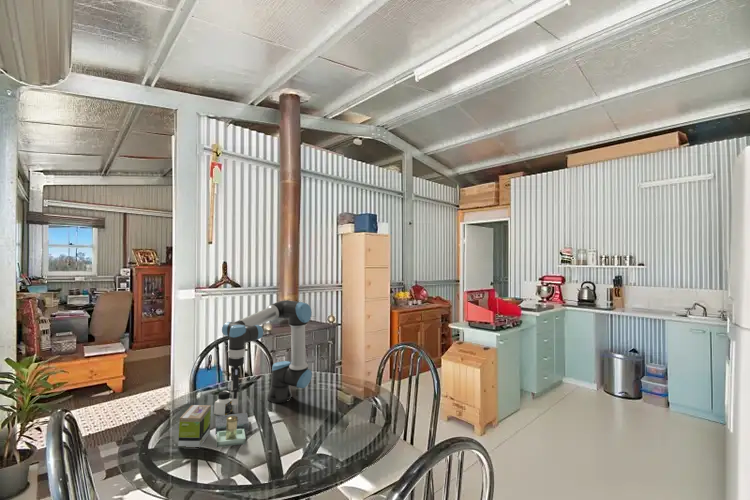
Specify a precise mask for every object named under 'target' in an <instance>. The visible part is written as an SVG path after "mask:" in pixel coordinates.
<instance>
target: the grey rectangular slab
mask: <svg viewBox="0 0 750 500" xmlns="http://www.w3.org/2000/svg"><path fill="white" fill-rule="evenodd" d="M229 416H237V417H238V420H237V429H243V428H244V431H245V432H249V427H250V422H249V421H250V420H249V417H248V416H249V415H248V412H240V413H232V414H230V413H229V414H227V415H216V416H215V435H216V434H217V432H218V431H226V423H227V421H226V418H227V417H229Z"/></svg>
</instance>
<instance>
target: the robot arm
mask: <svg viewBox="0 0 750 500" xmlns="http://www.w3.org/2000/svg"><path fill="white" fill-rule="evenodd" d="M311 317H312V308H311V306H310V305H309V303H306V302H302V301H296V300H295V301H294V300H290V299H289V300H288V299H287V300H285V299H284V300H280V301H277V302H274V303H270V304H269V305H268V306H267V307H266V308H264V309H261V310H259V311H258V312H255V313H253V314H250V315H249V316H245V317H243V318H241V319H238V320H236V321H234V322H233V321H227V322H225V323H223V325H222V326H221V332H222V334H223V335H224V336H226V337H228V339H229V340H228V350H227V351H226V352H227V353H228V357H227V365H228V366H229V367H230V371H231V373H230V374H231V377H230V395H231V399H232V404H231V405H232V406H237V405H238V402H239V388H240V386H239V383H240V380H239V379H240V373H241V368H240V367H241V366H243V365H244V363H245V352H246V349H245V348H246V343H247V344H248V343H251V342H255V341H257V340H259V339H262V337H263V336H264V329H263V327H262V326H261V325H263V324H266V323H268V322H270V321H272V320H273V321H276V320H278V319H283V320H288V321H287V322H288V325H289V326H290V339H291V341H290V343H291V344H290V345H291V346H290V347H291V352H290V353H291V361H288V360H287V361H285V360H283V361H277V362H274V363H273V364H272V367H271V368H272V369H271V381H270V383H271V384H270V388H269V390H268V393H267V396H266V397H267V398H266V399H267V401H268V400H269V401H268V402H270V401H271V402H270V403H273V404H282V402H283V403H286V402H285V401H287V400H289V399H291V400H292V398H291V397H293V396H292V395H293V394H292V391H291V390H292V389H291V387H294V388H297V389H305V388H306V387H308V385H309V384H310V382H311V380H312V377H313V371H312V370H311V369H309V364H308V363H307V360H306V326H307V325H308V322H310V320H311ZM290 386H291V387H290ZM289 401H290V400H289ZM287 402H288V401H287Z"/></svg>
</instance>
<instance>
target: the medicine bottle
mask: <svg viewBox="0 0 750 500" xmlns="http://www.w3.org/2000/svg"><path fill="white" fill-rule="evenodd" d="M230 393H231V391H228V390H222V391H219V393H218V399H217V400H216V401H214V410H213V414H214V415H216V416H220V415H229V414H230V413H231V412H232V411H233V405H231V404H232V398H230V396H231V394H230Z"/></svg>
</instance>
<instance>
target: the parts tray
mask: <svg viewBox="0 0 750 500" xmlns="http://www.w3.org/2000/svg"><path fill="white" fill-rule="evenodd" d="M225 438H226V431H218V432H217V435H216V448H223V447H230V446H239V445H246V431H244V428H243V429H237V432H236V439H232V440H226V439H225Z"/></svg>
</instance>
